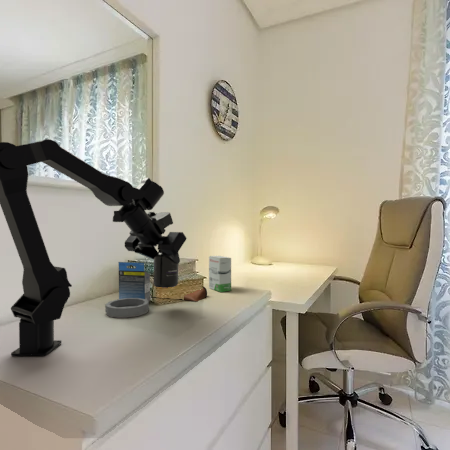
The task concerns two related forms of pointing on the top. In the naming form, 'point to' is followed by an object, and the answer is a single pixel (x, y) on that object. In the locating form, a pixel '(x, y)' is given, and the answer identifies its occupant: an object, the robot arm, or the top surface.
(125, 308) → the ring seat
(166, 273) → the supplement bottle
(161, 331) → the top surface
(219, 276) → the ink box
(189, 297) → the sunglasses case
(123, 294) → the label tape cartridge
